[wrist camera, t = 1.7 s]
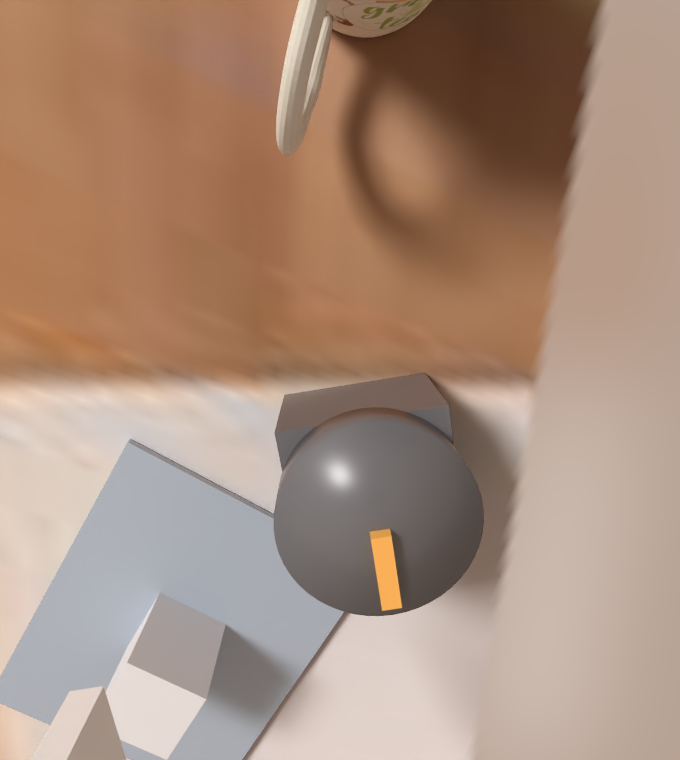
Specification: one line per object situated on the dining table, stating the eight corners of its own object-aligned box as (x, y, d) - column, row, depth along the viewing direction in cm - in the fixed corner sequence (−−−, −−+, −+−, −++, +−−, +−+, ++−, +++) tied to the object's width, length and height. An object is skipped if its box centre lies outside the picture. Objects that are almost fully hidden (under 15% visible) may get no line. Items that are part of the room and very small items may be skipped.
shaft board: (130, 439, 25) (84, 486, 20) (371, 565, 27) (382, 636, 22) (-7, 692, 28) (-75, 785, 24) (218, 789, 30) (197, 894, 26)
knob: (274, 388, 25) (252, 449, 18) (432, 363, 25) (477, 414, 18) (301, 530, 27) (292, 639, 19) (449, 507, 27) (496, 608, 19)
